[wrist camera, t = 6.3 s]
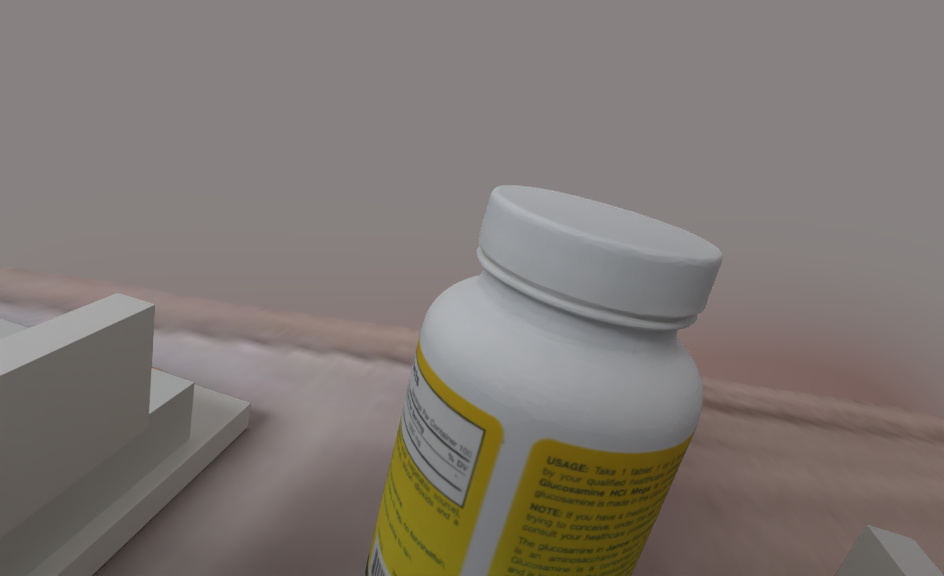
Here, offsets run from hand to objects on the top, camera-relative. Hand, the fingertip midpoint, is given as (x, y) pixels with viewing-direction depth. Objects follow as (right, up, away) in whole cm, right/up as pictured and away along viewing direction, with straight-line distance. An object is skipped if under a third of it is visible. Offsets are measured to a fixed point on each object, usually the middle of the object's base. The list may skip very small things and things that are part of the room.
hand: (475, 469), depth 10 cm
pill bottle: (0, -5, +5) cm, 7 cm away
